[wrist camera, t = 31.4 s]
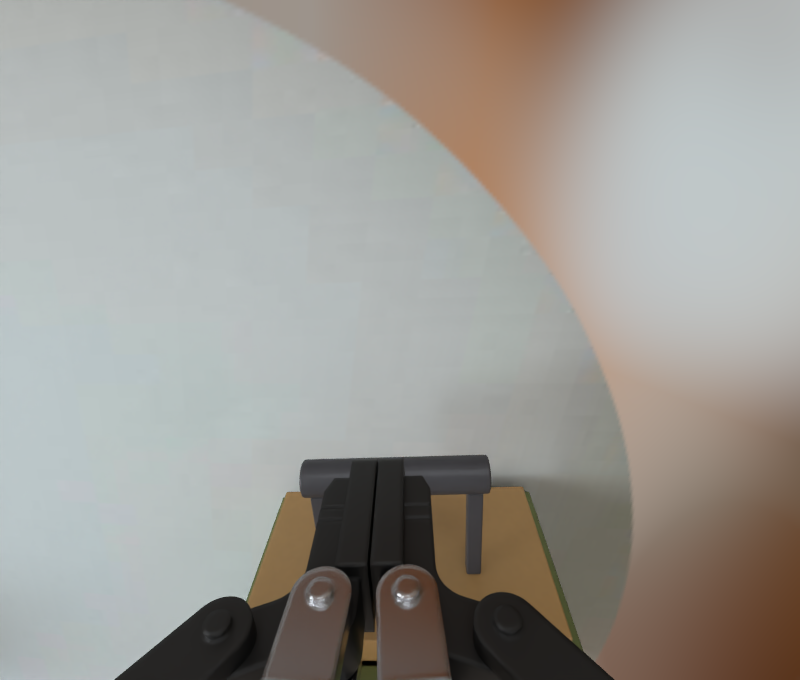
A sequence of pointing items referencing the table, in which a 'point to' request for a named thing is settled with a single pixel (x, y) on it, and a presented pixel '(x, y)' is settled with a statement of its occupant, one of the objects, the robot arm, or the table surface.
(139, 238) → the table surface
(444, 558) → the drawer
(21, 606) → the table surface
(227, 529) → the table surface
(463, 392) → the table surface
